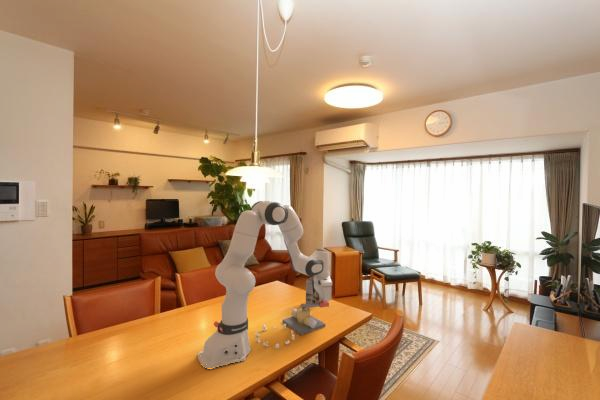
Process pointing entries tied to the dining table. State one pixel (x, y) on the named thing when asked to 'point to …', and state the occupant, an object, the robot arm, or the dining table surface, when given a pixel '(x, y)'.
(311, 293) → the coffee box
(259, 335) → the game piece set
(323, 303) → the valve lever
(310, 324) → the valve base
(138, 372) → the dining table surface
